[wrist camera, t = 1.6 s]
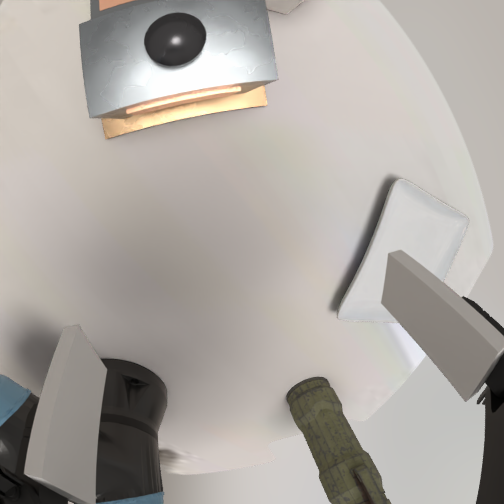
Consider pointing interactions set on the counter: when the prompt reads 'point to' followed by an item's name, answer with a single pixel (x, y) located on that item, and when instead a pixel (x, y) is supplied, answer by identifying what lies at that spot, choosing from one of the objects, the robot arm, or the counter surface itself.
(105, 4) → the mat
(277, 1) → the jar
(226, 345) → the counter surface
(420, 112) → the counter surface
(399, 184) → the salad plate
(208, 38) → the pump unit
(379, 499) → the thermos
